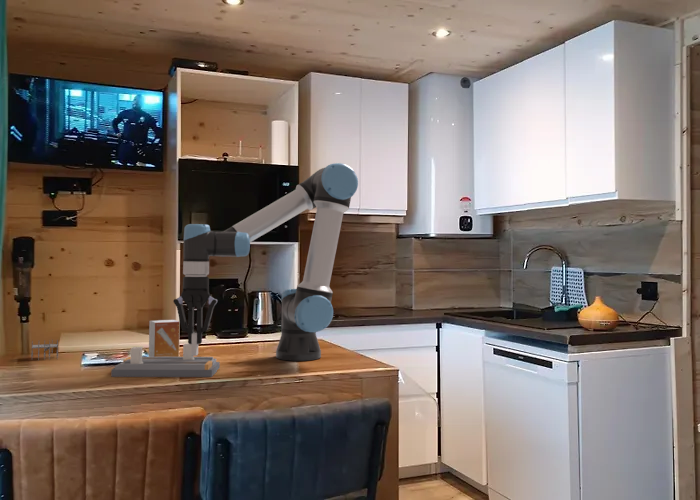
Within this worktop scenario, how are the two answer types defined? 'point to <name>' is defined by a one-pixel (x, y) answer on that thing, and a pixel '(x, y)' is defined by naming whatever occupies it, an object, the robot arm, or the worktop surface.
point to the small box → (164, 338)
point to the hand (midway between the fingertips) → (194, 354)
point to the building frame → (45, 348)
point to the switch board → (167, 367)
